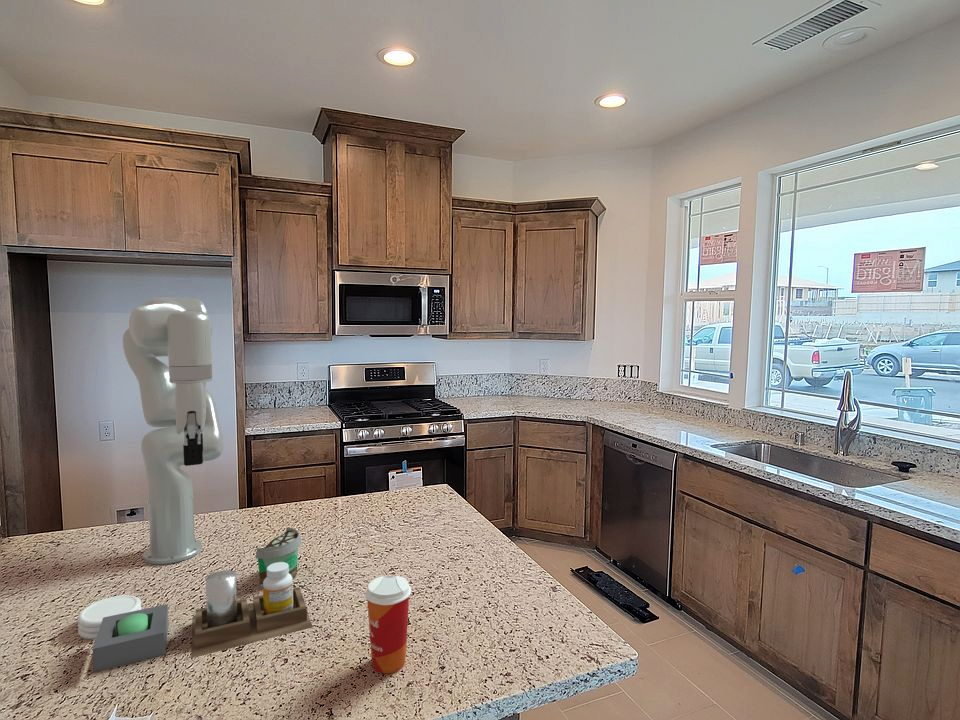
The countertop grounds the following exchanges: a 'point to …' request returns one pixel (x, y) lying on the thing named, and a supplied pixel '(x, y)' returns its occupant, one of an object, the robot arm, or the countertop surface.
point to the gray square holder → (130, 640)
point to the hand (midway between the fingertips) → (194, 458)
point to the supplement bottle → (277, 589)
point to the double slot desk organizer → (248, 625)
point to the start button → (133, 624)
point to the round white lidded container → (104, 613)
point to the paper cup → (388, 622)
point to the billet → (221, 598)
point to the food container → (280, 553)
